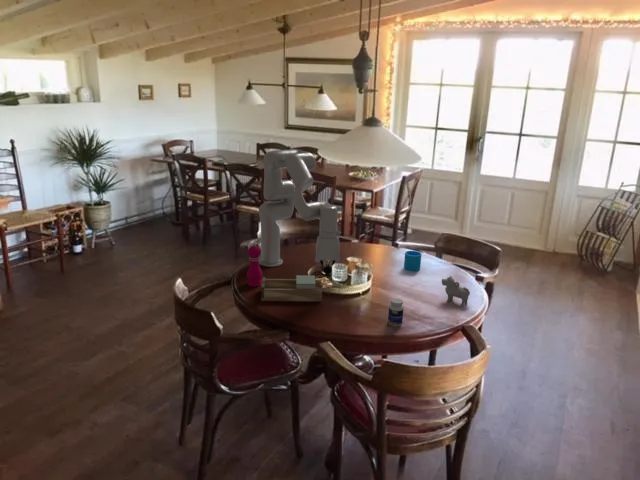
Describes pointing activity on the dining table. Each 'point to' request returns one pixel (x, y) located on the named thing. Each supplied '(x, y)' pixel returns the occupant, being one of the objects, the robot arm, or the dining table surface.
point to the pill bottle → (395, 312)
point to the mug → (412, 261)
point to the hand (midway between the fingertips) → (327, 274)
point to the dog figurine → (455, 290)
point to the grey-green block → (305, 282)
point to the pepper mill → (254, 266)
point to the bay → (288, 291)
